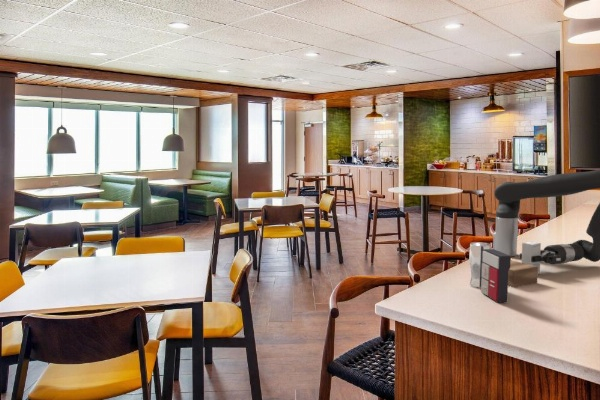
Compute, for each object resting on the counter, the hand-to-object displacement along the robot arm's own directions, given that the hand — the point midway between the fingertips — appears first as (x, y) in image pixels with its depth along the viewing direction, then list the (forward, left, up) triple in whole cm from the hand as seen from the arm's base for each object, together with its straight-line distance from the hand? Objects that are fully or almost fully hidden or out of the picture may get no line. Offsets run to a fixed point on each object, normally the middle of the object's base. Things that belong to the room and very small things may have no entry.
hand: (526, 257), depth 177 cm
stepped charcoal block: (+15, -33, -7) cm, 37 cm away
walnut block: (+4, -12, -7) cm, 15 cm away
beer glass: (+3, -27, -7) cm, 28 cm away
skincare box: (0, +3, -7) cm, 7 cm away
